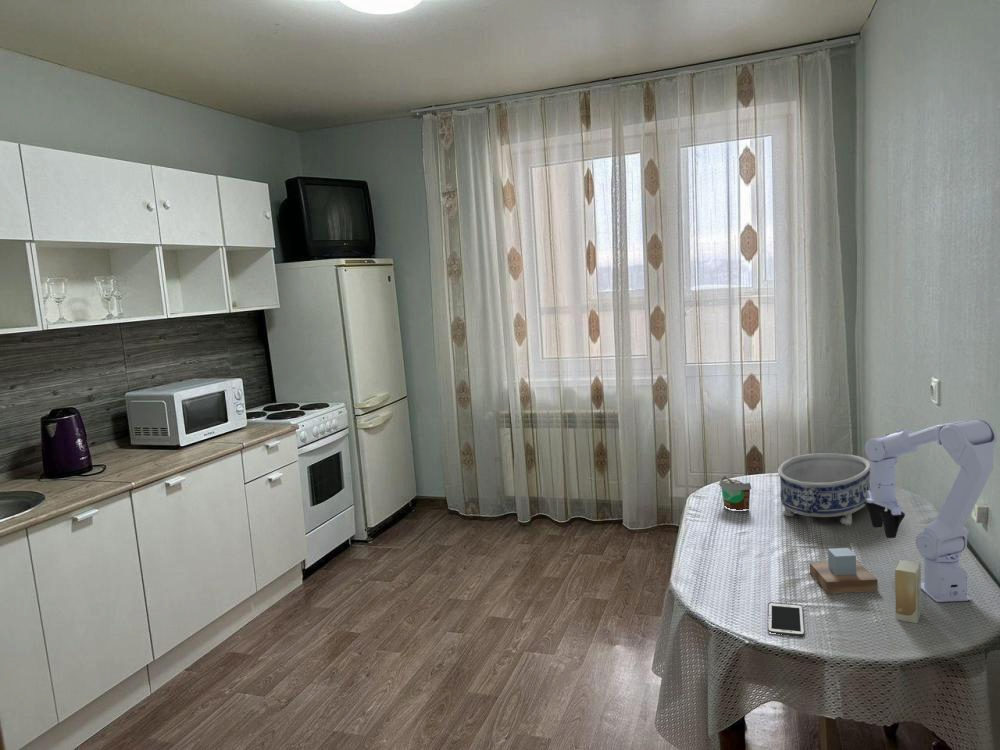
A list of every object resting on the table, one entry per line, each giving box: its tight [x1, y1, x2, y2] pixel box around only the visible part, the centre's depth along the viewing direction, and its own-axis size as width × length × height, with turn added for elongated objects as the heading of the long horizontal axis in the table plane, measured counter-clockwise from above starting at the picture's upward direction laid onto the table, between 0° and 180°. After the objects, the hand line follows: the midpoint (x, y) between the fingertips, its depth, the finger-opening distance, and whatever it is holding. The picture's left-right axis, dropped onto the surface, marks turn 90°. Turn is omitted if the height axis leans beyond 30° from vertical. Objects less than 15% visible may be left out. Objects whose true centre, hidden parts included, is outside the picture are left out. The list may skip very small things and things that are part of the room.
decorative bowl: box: [777, 452, 871, 526], centre depth 229 cm, size 42×27×15 cm, turn 142°
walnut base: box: [809, 559, 879, 594], centre depth 178 cm, size 12×12×3 cm
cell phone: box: [767, 601, 805, 638], centre depth 162 cm, size 8×15×1 cm, turn 158°
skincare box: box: [894, 559, 922, 624], centre depth 158 cm, size 6×4×12 cm
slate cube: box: [827, 547, 857, 575], centre depth 178 cm, size 5×5×5 cm
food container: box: [718, 475, 752, 510], centre depth 237 cm, size 12×6×10 cm, turn 25°
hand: (884, 532), depth 184 cm, fingers open, 7 cm apart
